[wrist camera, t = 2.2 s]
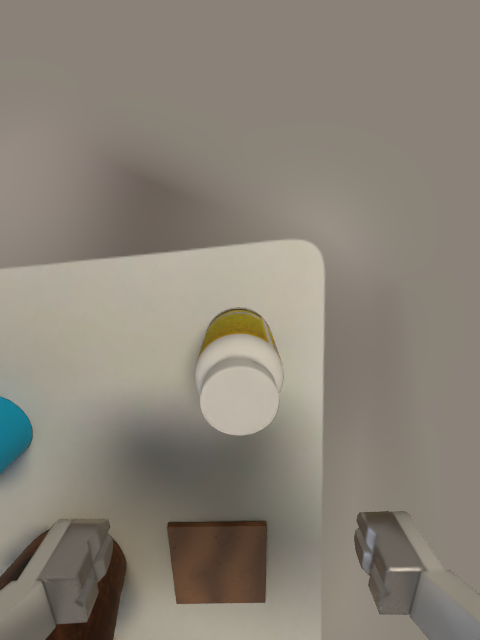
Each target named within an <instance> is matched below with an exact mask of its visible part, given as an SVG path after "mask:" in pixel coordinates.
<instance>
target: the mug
mask: <svg viewBox="0 0 480 640" xmlns="http://www.w3.org/2000/svg"><path fill="white" fill-rule="evenodd" d="M31 440H32V427H31V424H30V422H29V419H28V418H27V416H26V415H25V414H24V412H23V411H22V410H21V409H20V408H19V407H18V406H16V405H15V404H14V403H12V402H11V401H9V400H7V399H4V398H2V397H0V474H1V473H2V472H3V471H4V470H5V469H6V468H7V467H8V466H9V465H10V464H11V463H12V462H13V461H14V460H15V459H16V458H17V457H18V456H19V455H20V454H21V453H22V452H23V451H24V450H26V449H27V448H28V447H29V444H30V442H31Z"/></svg>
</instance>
